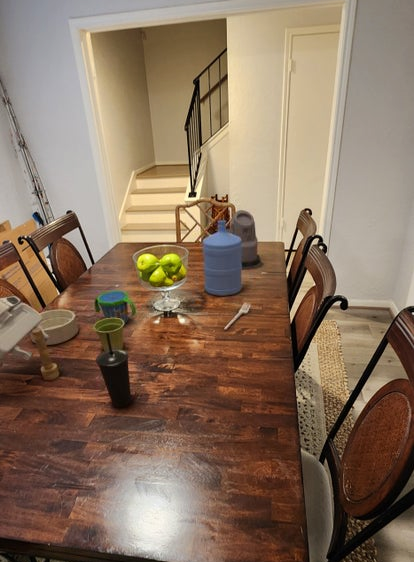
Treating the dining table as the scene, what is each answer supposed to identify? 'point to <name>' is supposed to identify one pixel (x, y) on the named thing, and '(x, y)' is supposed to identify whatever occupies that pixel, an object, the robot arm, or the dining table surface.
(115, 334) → the plant pot
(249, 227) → the machine
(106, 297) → the snack cup
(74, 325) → the bowl
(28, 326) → the robot arm
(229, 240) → the water jug
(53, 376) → the wooden pestle
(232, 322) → the fork
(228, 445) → the dining table surface
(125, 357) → the drinking cup
